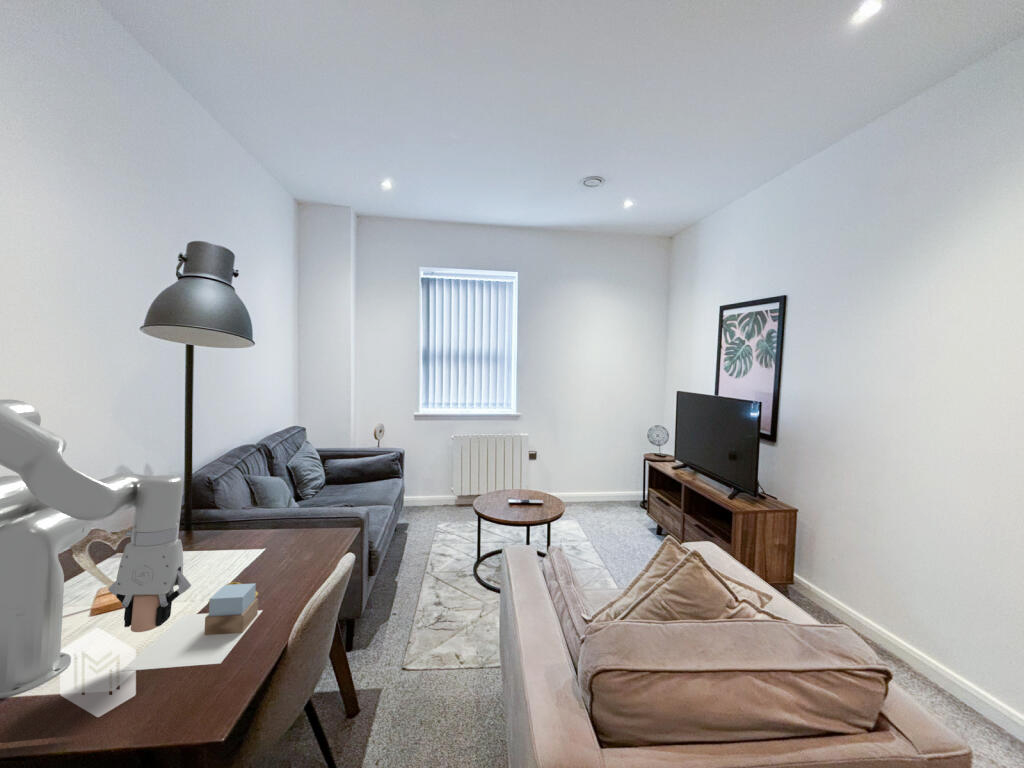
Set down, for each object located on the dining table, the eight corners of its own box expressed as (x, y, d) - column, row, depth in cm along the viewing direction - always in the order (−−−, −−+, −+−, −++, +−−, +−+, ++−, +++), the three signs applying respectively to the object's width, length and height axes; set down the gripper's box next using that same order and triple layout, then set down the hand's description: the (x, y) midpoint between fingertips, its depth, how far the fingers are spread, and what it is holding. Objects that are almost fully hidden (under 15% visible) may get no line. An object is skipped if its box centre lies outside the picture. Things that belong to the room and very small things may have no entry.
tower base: (204, 635, 94) (205, 617, 95) (222, 616, 102) (223, 600, 102) (242, 632, 96) (243, 615, 96) (257, 614, 104) (258, 598, 104)
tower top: (208, 616, 95) (209, 598, 95) (224, 601, 102) (224, 584, 102) (242, 614, 96) (242, 597, 96) (255, 599, 103) (255, 583, 103)
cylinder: (124, 632, 83) (127, 597, 84) (141, 619, 88) (144, 586, 89) (152, 631, 84) (155, 597, 85) (167, 618, 89) (171, 586, 89)
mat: (120, 674, 82) (120, 671, 82) (184, 617, 103) (184, 614, 103) (220, 666, 85) (220, 663, 85) (262, 612, 106) (262, 610, 106)
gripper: (94, 541, 82) (84, 634, 81) (190, 542, 85) (181, 632, 84) (122, 529, 89) (114, 614, 88) (210, 530, 92) (202, 613, 91)
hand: (147, 622), depth 86 cm, fingers closed on cylinder, 4 cm apart
